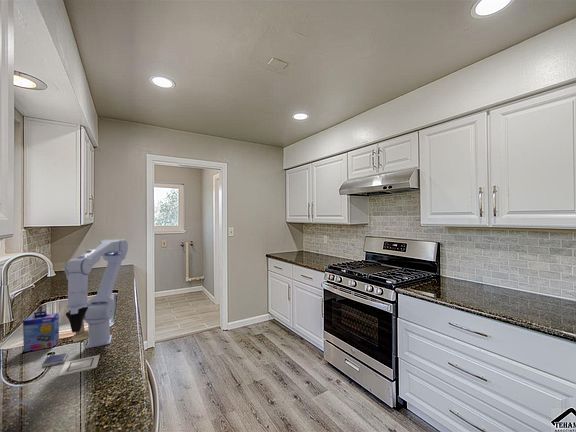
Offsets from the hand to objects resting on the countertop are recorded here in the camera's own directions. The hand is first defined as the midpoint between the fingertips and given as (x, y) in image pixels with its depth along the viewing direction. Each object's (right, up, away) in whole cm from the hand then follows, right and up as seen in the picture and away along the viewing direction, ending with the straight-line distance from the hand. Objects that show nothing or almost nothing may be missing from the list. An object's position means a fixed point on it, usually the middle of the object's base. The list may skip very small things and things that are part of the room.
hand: (77, 330), depth 100 cm
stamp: (+2, -4, 0) cm, 4 cm away
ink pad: (-7, -11, -1) cm, 13 cm away
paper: (+4, -10, -4) cm, 12 cm away
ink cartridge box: (-22, -11, +11) cm, 27 cm away
